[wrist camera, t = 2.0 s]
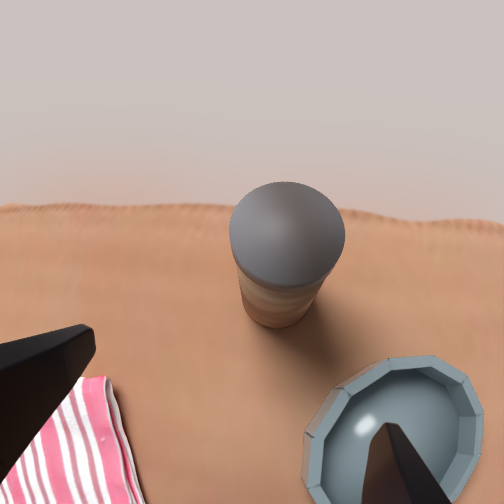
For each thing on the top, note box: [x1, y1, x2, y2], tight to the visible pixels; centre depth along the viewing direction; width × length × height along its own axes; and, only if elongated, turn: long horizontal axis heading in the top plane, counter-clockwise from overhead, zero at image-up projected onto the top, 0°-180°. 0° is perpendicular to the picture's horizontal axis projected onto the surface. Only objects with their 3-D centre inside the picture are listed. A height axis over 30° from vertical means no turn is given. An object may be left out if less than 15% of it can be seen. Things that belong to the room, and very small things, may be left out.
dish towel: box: [0, 376, 145, 504], centre depth 15 cm, size 17×23×4 cm
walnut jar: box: [229, 182, 345, 328], centre depth 19 cm, size 5×5×10 cm
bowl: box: [301, 355, 484, 504], centre depth 16 cm, size 14×14×3 cm
